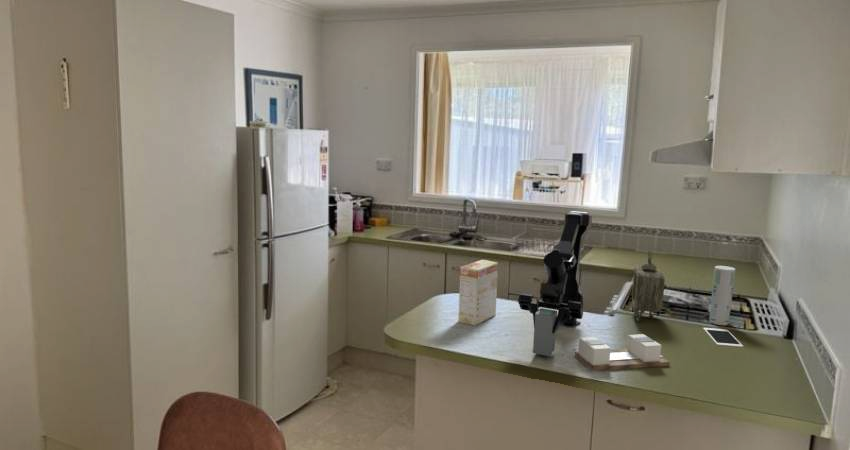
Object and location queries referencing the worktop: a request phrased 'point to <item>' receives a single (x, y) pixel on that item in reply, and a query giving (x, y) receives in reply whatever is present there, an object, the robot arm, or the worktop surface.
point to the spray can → (722, 295)
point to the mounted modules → (636, 344)
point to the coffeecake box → (478, 292)
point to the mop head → (647, 288)
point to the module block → (544, 332)
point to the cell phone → (723, 337)
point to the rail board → (623, 361)
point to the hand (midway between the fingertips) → (544, 331)
